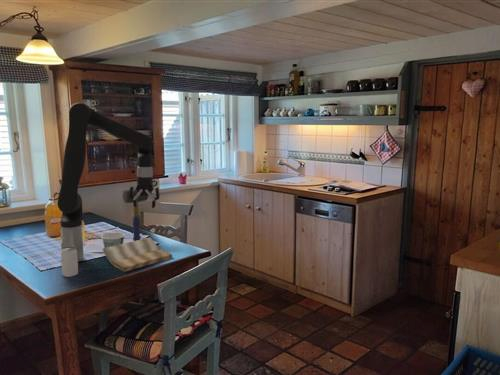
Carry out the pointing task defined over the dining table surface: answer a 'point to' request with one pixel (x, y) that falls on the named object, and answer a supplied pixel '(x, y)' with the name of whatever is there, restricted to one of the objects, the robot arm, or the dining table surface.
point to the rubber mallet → (136, 217)
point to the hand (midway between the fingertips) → (144, 207)
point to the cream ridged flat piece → (130, 249)
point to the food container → (112, 239)
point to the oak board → (142, 260)
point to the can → (69, 261)
